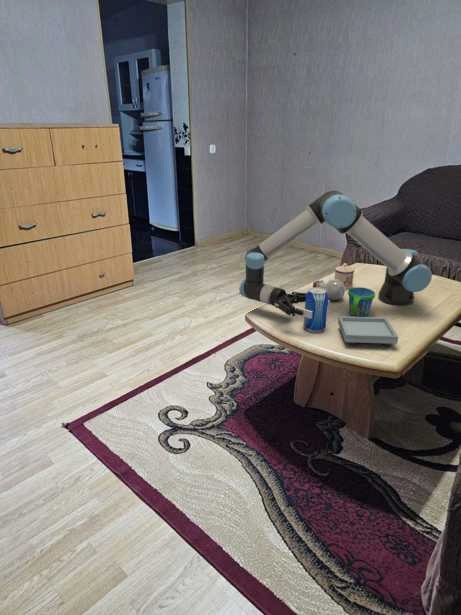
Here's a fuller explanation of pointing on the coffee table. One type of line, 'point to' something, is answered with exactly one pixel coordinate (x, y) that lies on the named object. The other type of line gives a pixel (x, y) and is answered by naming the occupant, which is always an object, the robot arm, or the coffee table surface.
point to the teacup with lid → (344, 275)
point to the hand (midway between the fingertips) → (320, 309)
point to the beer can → (316, 309)
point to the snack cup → (360, 301)
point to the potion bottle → (332, 288)
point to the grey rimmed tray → (367, 330)
